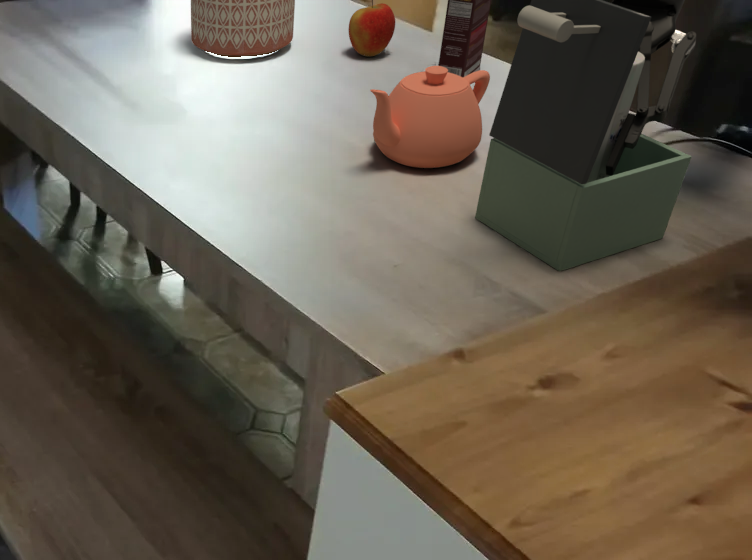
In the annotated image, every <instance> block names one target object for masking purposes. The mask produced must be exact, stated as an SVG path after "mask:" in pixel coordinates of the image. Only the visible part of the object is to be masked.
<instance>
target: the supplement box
mask: <svg viewBox="0 0 752 560" xmlns="http://www.w3.org/2000/svg"><path fill="white" fill-rule="evenodd" d="M491 4H492V0H447V5H446V11H445V18H444V24H443V32H442V39H441V44H440V52H439V58H438V65H437V66H442V67H445V68H447V69H448V72H449V73H453V74H456V75H458V76H461V77H465V76H467V75H469V74H471V73H473V72H476V71H479V70H481V62H482V57H483V51H484V47H485V46H484V44H485V38H486V33H487V28H488V22H489V15H490V9H491Z"/></svg>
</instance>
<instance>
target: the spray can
mask: <svg viewBox="0 0 752 560" xmlns="http://www.w3.org/2000/svg"><path fill="white" fill-rule="evenodd" d="M644 61H645V57H644V55H643V54H642V53H640V52H638V53H637V56H636V58H635V61H634V63H633V66H632V68H631V71H630V74H629V76H628V79H627V81H626V84H625V86H624V89H623V91H622V94H621V97H620V99H619V102H618V104H617V107H616V109H615V112H614V115H613V117H612V120H611V122H610V125H609V127H608V130H607V132H606V135H605V138H604V140H603V143H602V145H601V148H600V150H599V153H598V155H597V158H596V161H595V163H594V166H593V168H592V171H591V173H590V176H589V179H588V181H587V183H588V182H592V181H595V180H599V179H602V178H606V177H609V175H606V164H607V162H608V160H609V157H610V155H611V153H612V150H613V148H614V146H615V143H616V141H617V139H618V136H619V134H620V132H621V129H622V127H623V125H624V122H625V120H626V118H627V115H628V113H630V110H631V106H632V103H633V100H634V97H635V94H636V91H637V88H638V81H639V78H640V75H641V71H642V68H643V65H644Z"/></svg>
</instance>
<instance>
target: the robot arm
mask: <svg viewBox="0 0 752 560" xmlns="http://www.w3.org/2000/svg"><path fill="white" fill-rule="evenodd" d="M685 1H686V0H612V1H611V3H612V4H615V5H618V6H621V7H624V8H627V9H630V10H633V11H636V12H638V13H641V14H644V15H647V16H650V17H651V20H650V22H649V25H648V28H647V30H646V33H645V35H644V38H643V40H642V43H641V45H640V48H639V51H638V52H640V53H642V54H643V55H644V57H645V61H644V65H643V68H642V71H641V75H640V78H639V81H638V84H637V95H636V96H637V98H636V113H631V112H629V113H628V115H627V118H626V120H625V122H624V125H623V127H622V129H621V132H620V134H619V136H618V139H617V141H616V143H615V146H614V148H613V150H612V153H611V155H610V157H609V160H608V162H607V164H606V175H610V176H613V174H614V172H615V169H616V167H617V165H618V162H619V160H620V158H621V155H622V153H623V151H624V148H625V147H626V148H631V149H633V148H634V147H635V146H636V144H637V142H638V140H639V137H640V135H641V134H643V131H644V129H645V126H646V125H647V124H648V123H651V122H657V123H662V122H665V121H666V119H667V116H668V113H669V110H670V107H671V104H672V102H673V98H674V95H675V91H676V88H677V86H678V82H679V80H680V76H681V74H682V70H683V67H684V64H685V62H686V60H687V59H688V58H689V56H691V54H692V53H693V52H694V50H695V47H696V43H697V33H696V32H695V31H693V30H692V31H688V32H686V33H685V32H683V31H681V30H679V29H677V25H676V22H677V19H678V17H679V15H680V12H681V10H682V8H683V5H684V3H685ZM669 42H671V43H672V44H671V49H670V50H671V52H672V55H671V58H670V62H669V64H668V68H667V71H666V74H665V78H664V81H663V84H662V87H661V90H660V92H659V95H658V99H657V102H656V105H650V86H651V85H650V84H651V63H652V62H651V60H652V55H653V54H654V53H655V52H657V51H658V50H660V49H661V48H662V47H664V46H665V45H667V44H668V43H669Z"/></svg>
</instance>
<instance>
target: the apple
mask: <svg viewBox="0 0 752 560" xmlns="http://www.w3.org/2000/svg"><path fill="white" fill-rule="evenodd" d="M395 30H396V17H395V14H394V12H393V10H392V7H390V6H389V5H388V4H387V3H383V2H382V3H376V4H374V0H371V6H366V7H363V8H358V9H357V10H356V11H354V13H352V15H351V16H350V19H349V23H348V37H349V38H348V39H349V41H350V44H351V46H352V48H353V49H354V51H355V52H356V53H357V54H358V55H361V56H363V57H375V56H377V55H380V54H381V53H383V52H384V50H386V48H387V47H388V45H389V44H390V42H391V41H392V39H393V36H394V33H395Z"/></svg>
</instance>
